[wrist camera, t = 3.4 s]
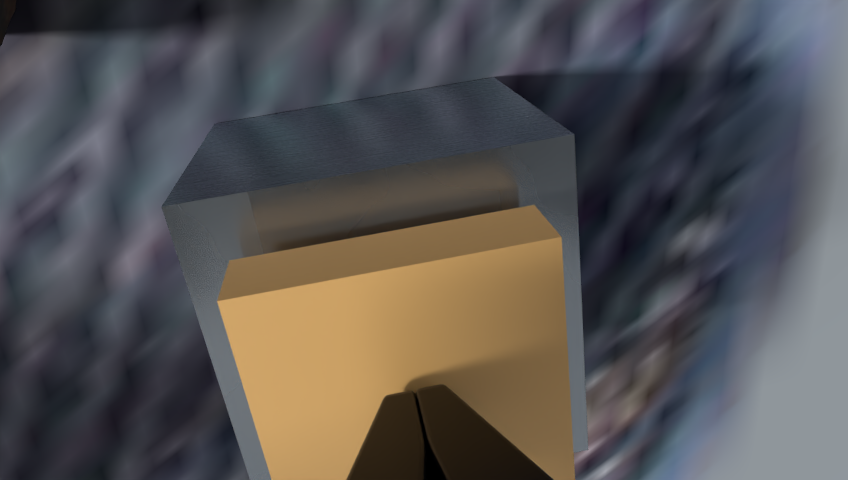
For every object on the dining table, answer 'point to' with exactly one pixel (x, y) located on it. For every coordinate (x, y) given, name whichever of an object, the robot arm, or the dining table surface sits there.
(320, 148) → the box
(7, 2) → the brown wedge block
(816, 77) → the dining table surface
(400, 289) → the button
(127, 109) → the dining table surface
